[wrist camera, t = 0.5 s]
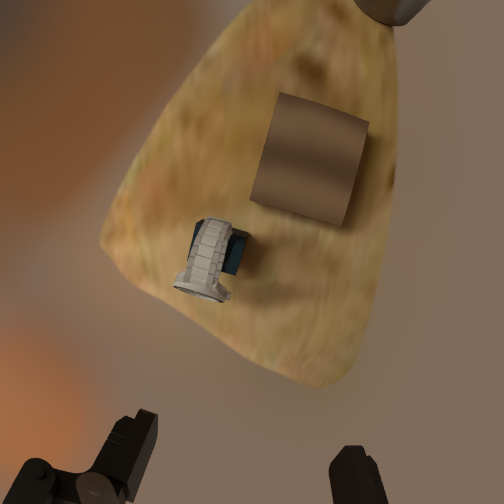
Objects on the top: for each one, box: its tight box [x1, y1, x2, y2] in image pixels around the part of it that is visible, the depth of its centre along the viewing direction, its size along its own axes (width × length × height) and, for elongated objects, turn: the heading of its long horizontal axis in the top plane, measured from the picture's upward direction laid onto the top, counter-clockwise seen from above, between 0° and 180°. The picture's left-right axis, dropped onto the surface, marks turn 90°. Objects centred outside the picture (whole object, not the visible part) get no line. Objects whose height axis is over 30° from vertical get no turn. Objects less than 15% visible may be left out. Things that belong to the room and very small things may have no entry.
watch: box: [173, 216, 249, 303], centre depth 27 cm, size 6×8×11 cm
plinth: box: [250, 92, 369, 227], centre depth 28 cm, size 12×10×3 cm
